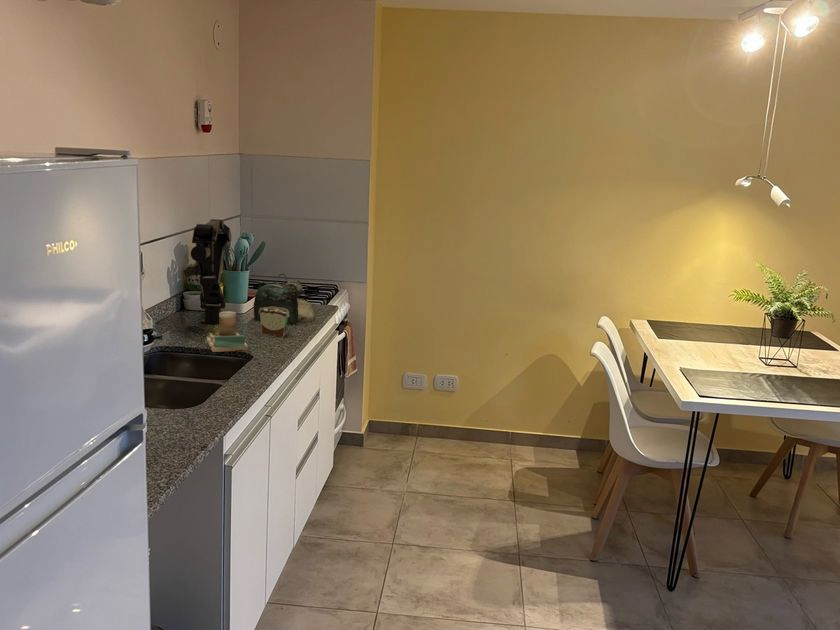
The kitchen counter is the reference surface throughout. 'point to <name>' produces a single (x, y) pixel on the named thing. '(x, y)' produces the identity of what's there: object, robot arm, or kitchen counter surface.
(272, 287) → the ceramic cat
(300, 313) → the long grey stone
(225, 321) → the brown cup
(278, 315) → the food container
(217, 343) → the maple mount
